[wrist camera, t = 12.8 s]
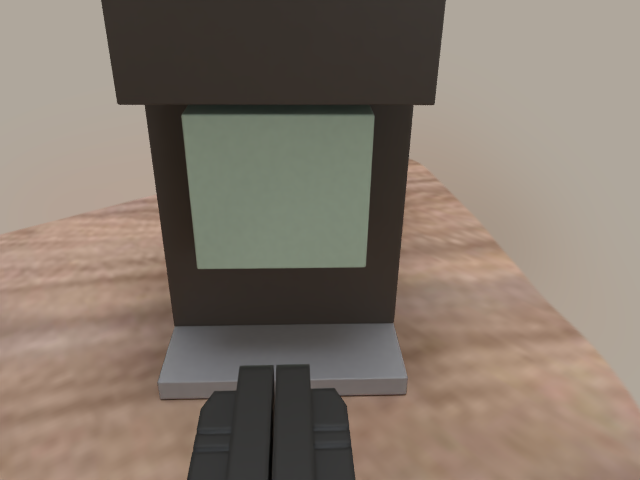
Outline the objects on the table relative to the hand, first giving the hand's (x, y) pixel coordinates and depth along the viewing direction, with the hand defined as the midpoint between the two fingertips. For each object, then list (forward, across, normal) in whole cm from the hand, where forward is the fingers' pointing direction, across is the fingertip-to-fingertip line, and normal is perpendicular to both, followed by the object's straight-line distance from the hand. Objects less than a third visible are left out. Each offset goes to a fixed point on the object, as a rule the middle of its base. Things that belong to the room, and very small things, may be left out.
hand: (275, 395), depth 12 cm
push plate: (+12, 0, +3) cm, 12 cm away
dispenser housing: (+16, 0, +9) cm, 18 cm away
